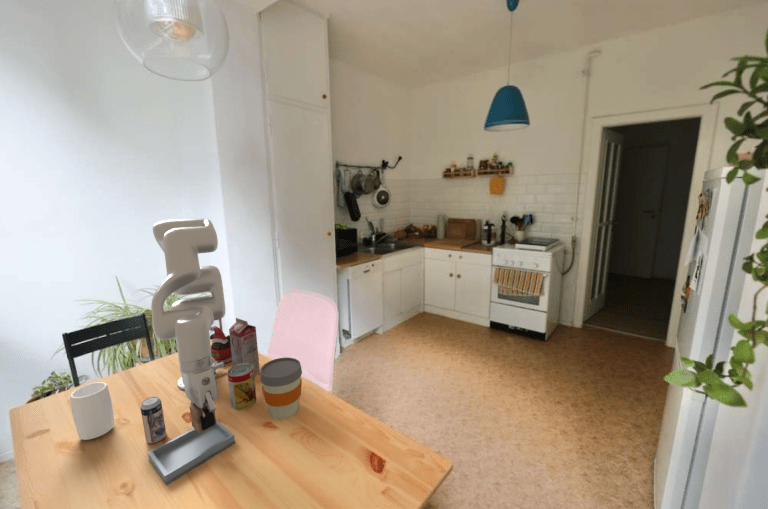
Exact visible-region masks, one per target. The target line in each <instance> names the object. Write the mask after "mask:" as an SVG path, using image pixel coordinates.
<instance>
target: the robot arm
mask: <svg viewBox="0 0 768 509" xmlns="http://www.w3.org/2000/svg"><path fill="white" fill-rule="evenodd" d="M216 231H217V230H216V229H215V226H214V224H213V222H212V221H211V220H210V219H209V218H182V219H181V218H179V219H166V220H161V221H157V222H155V223H154V224H153V226H152V232H153V237H154V239H155V241H156V242H157V244H158V246H159V247H160V249H161V250H162V252H163V253H164V260H165V266H166V267H165V268H166V277H165V279H164V280H163V281H162V282H161V283H160V284H159V286H158V287H157V288H156V290H155V292H154V294H153V296H152V299H151V304H150V309H151V319H152V320H151V321H152V328H153V332H154V335H155V337H156V338H158V339H159V340H161V341H167V340H172V339H173V340H174V339H175V342H176V343H175V344H176V348H177V349H176V350H177V355H178V357H177V358H178V364H179V370H180V371H179V372H180V376H181V377H180V378H178V380H177V387H178V388H179V389H180V390H184V391H185V395H186V397H187V398H188V399H189V401H190V406H191V405H193V404H195V405H196V406H198V407H199V408H200V411H201V415H202V416H201V417H200V420H201V427H202V430H206V429H208V428H209V427H211V426H213V425H214V424H215V420H214V410H215V411H216V409H217V408H216V406H215V403H214V402H218V401H219V399H220V397H219V391H218V386H217V381H216V378H217V373H216V371H217V370H218V369H222V368H224V367H225V362H224V363H223V362H221V363H217V362H215V363H214V362H213V361H212V353H211V345H212V344H211V339H210V331H211V330H210V328H211V327H212V326H213V325H214V323H215V322H214V321H219V319H221V320H222V319H223V318H224V317H225V316H226V301H225V294H224V288H223V287H224V286H223V279H222V278H223V277H222V274H221V271H220V270H219V268H218V267H217V266H215V265H204V266H200V261H199V259H200V258H199V254H207V253H209V254H210V253H214V252H216V251H217V249H218V245H219V242H218V235H217V232H216ZM204 293H208V294H209V295H204V296H195V297H190V298H189V297H188V298H182V299H179V300H176V301H174V302H173V303H172V304H171V305H170V307H169V310H168V311H165V310H164V305H165V302H166V301H167V299H169V297H170V296H171V295H172V294H174V295H175V296H179V297H182V296H189V295H190V296H191V295H198V294H204ZM204 402H206V403H204ZM206 406H208V408H207V409H206V410H205V411H204V407H206Z"/></svg>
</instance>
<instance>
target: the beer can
mask: <svg viewBox="0 0 768 509" xmlns="http://www.w3.org/2000/svg"><path fill="white" fill-rule="evenodd" d="M140 414H141V419H142V425H143V426H142V427H143V432H144V437H145V441H146V443H147V444H155V443H158V442H160V441H162V440H163V439H164V438H165V437H166V436H167V431H166V430H167V429H166V424H165V423H166V422H165V417H164V410H163V404H162V400H161V399H160V397H158V396H149V397H148V398H145V399H144V400H142V402H141V405H140Z"/></svg>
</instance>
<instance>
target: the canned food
mask: <svg viewBox="0 0 768 509" xmlns="http://www.w3.org/2000/svg"><path fill="white" fill-rule="evenodd" d="M226 372H227V374H226V375H227V383H228V392H229V400H230V407H231V408H232V409H233V410H236V411H238V410H239V411H240V410H246V409H248V408H251V407H252V406H253V405H255V404H256V402H257V390H256V381H255V375H254V369H253V365H252V364H249V363H242V364H237V365H235V366H233V365H232V366H231V367H229V369H228V370H227V371H226Z"/></svg>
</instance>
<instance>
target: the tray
mask: <svg viewBox="0 0 768 509" xmlns="http://www.w3.org/2000/svg"><path fill="white" fill-rule="evenodd" d="M235 440H236V439H235V435H234V433H233V432H231V431H230V430H229V429H228V428H227V427H226V426H224V425H223V424H222V423H221V422H220V421H219V420H217V418H216V424H215V425H214V426H212V427H210V428H208V429H206V430H204V431H202V432H201V433H199V432H198V431H197V430H196V429H195V428H194V427H193V428H192V429H189V430H187V431H186V432H184V433H182V434H180V435H178V436H176V437H174V438H172V439H170V440H169V441H166V442H165V443H163V444H161V445H159V446H157V447H155V448H153V449H151V450H149V451H147V457H148V461H149V462H150V464H151V465H152V466H153V468H154V470H155V471H156V472H157V474H158V476H160V479H162V482H163V483H164V484H165V485H166V486H168V485H170V484H171V483H172V482H174V481H176V480H177V479H179V478H181V477H182V476H184V475H185V474H187V473H189V472H191V471H192V470H193V469H195V468H197V467H199V466H200V465H202V464H203V463H205V462H206V461H208V460H210V459H211V458H213V457H215V456H217V455H219V454H220V453H222V452H224V451H225V450H227V449H228V448H230V447H231V446H233V445H235V444H236V441H235Z"/></svg>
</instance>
